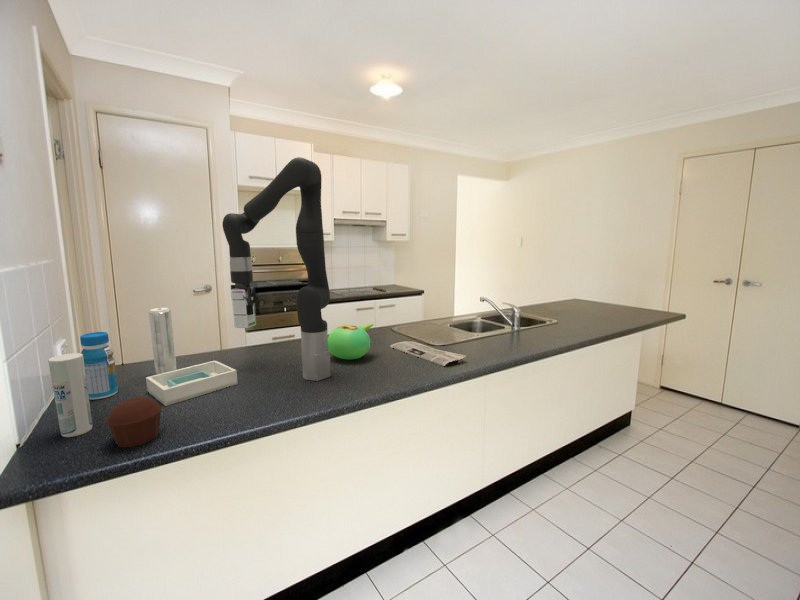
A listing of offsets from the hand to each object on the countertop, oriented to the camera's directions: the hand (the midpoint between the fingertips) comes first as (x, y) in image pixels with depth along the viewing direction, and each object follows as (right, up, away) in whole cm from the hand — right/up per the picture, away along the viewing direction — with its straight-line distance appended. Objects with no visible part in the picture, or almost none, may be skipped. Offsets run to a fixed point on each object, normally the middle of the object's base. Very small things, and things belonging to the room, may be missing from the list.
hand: (244, 313), depth 138 cm
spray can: (-26, -29, -42) cm, 57 cm away
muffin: (-8, -30, -45) cm, 55 cm away
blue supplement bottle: (-37, -25, -20) cm, 49 cm away
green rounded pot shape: (+37, -19, +17) cm, 45 cm away
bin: (-11, -24, -15) cm, 30 cm away
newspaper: (+70, -19, +21) cm, 75 cm away
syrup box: (0, -5, +1) cm, 5 cm away
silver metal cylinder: (-26, -23, -4) cm, 35 cm away
